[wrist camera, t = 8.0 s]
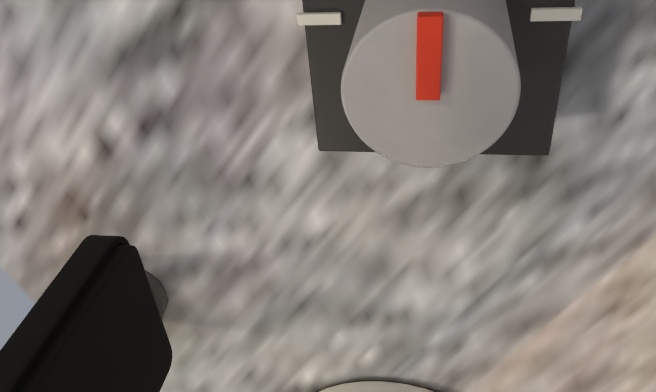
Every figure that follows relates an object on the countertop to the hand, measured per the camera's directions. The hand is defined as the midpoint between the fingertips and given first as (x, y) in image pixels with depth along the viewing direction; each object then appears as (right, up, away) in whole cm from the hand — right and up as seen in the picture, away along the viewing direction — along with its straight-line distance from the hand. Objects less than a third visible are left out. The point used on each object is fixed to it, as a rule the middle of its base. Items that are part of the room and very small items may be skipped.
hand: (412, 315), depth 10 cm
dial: (+2, +7, +8) cm, 11 cm away
